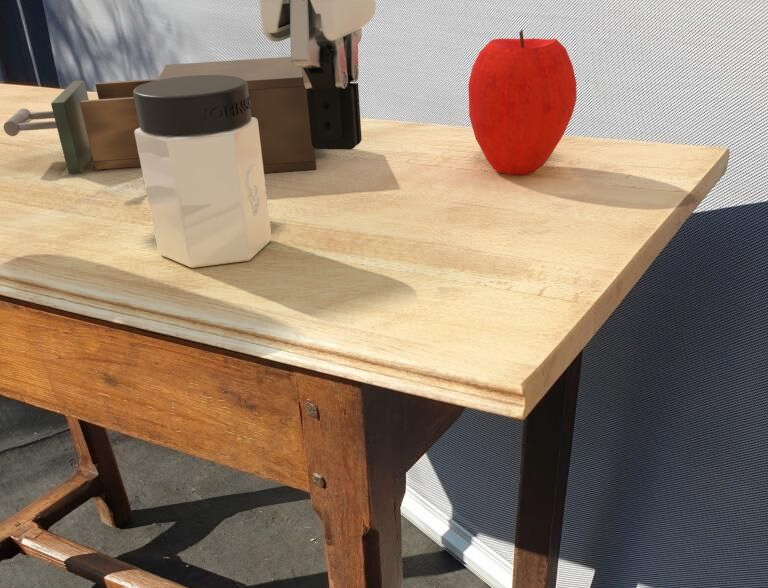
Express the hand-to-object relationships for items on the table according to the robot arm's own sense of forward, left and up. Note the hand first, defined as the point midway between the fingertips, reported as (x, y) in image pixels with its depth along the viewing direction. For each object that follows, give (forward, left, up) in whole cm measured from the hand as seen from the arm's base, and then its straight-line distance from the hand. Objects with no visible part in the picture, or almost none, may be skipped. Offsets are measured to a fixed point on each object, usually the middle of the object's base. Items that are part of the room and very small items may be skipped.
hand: (337, 145), depth 59 cm
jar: (-10, -3, -8) cm, 14 cm away
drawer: (-36, +10, -7) cm, 39 cm away
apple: (+2, +27, -8) cm, 28 cm away
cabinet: (-26, +19, -8) cm, 33 cm away
